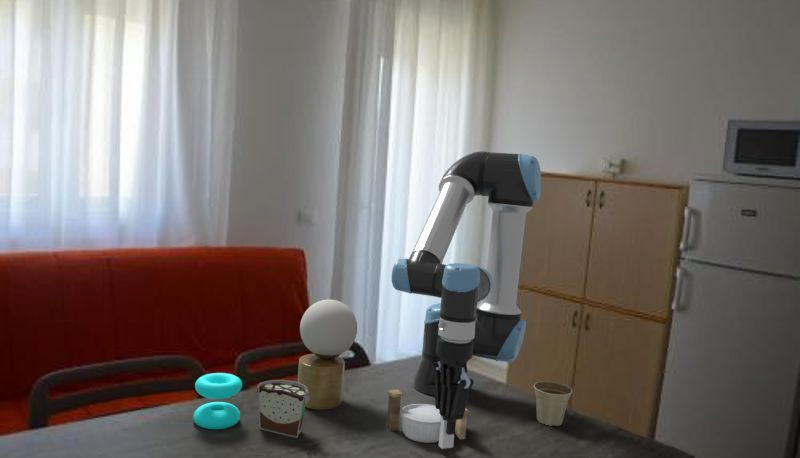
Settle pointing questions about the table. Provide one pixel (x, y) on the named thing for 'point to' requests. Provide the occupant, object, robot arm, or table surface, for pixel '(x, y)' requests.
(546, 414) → the flower pot
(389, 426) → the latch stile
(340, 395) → the lamp
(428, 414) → the ramekin
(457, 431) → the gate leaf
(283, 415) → the food container
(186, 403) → the table surface
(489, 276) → the robot arm
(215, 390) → the donuts
